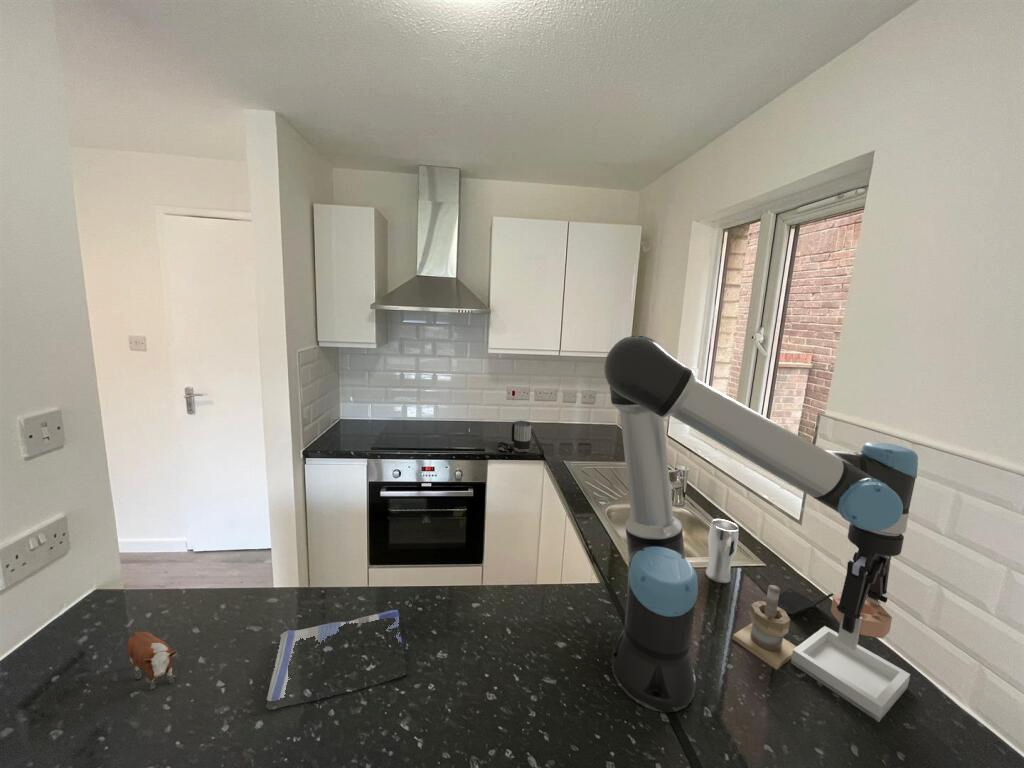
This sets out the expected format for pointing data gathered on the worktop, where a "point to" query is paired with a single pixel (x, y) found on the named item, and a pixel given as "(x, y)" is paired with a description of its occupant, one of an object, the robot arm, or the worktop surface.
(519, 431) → the milk frother
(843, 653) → the tray
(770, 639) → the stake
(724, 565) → the silver metal tumbler
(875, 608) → the terracotta ring
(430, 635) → the worktop surface
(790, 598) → the handheld gaming console
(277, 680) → the dish towel
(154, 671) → the bull figurine
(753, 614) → the oak ring
